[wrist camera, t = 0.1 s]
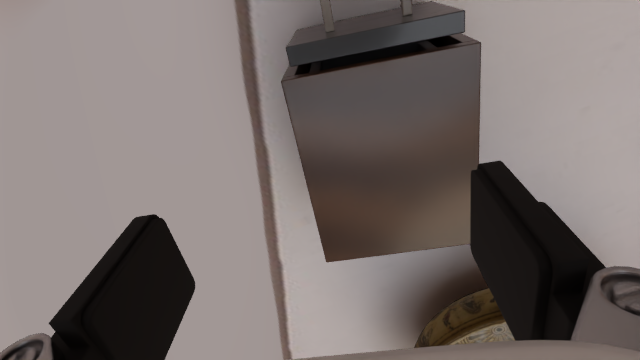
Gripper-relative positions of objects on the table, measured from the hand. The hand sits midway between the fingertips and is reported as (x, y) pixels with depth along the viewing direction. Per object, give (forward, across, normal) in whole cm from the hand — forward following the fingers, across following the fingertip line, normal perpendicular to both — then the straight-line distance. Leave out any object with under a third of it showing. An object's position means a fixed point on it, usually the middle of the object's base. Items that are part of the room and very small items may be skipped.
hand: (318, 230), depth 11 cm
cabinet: (+22, -3, +6) cm, 23 cm away
